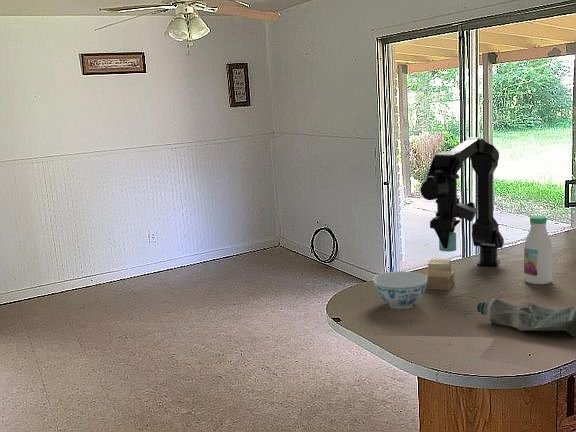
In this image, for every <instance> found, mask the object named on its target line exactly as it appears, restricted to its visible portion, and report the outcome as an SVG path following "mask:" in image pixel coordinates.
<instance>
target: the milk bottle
mask: <svg viewBox="0 0 576 432" xmlns="http://www.w3.org/2000/svg"><path fill="white" fill-rule="evenodd" d="M547 219H548V218H547V217H546V216H544V215H533V216H532V215H531V216H530V217H529V224H530V229H529V232H528V234H527V235H526V237H525V240H524V249H523V251H524V252H523V255H524V256H523V257H524V259H523V280H524V282H526V283H528V284H532V285H547V284H550V283H552V272H553V267H552V263H553V260H552V259H553V251H552V250H553V249H552V247H553V246H552V245H553V244H552V240H551V237H550V235H549V233H548V230H547Z"/></svg>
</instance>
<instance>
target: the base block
mask: <svg viewBox="0 0 576 432" xmlns="http://www.w3.org/2000/svg"><path fill="white" fill-rule="evenodd" d="M424 276H426V277H427V279H428V280H427V285H426V288H428V290H436V289H438V290H437V291H439V290H440V291H450V290H451V288H452V287H453V286H454V285H455V271H452V270H451V273H450V275H449V277H433V276H428V272H427V273H425V275H424Z"/></svg>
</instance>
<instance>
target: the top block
mask: <svg viewBox="0 0 576 432" xmlns="http://www.w3.org/2000/svg"><path fill="white" fill-rule="evenodd" d="M427 270H428V271H427V273H428V276H433V277H449V275H450V273H451V271H452V259H451V258H434V257H433V258H430V260H429V261H428V263H427Z"/></svg>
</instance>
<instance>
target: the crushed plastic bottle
mask: <svg viewBox="0 0 576 432" xmlns="http://www.w3.org/2000/svg"><path fill="white" fill-rule="evenodd" d="M476 311H477V313H480V314H481V315H487V319H488V321H489V322H490V323H491V324H494V325H495V324H496V325H500V326H506V327H512V328H515V329H518V331H520V332H524V331H545V332H547V331H548V332H549V331H551V332H552V331H553V332H556V331H557V332H558V331H561V332H562V331H563V332H564V331H566V332H567V333H569V334H570V335H571V336H573V337H576V304H575V305H574V304H573V305H570V306H568V307H567V308H557V309H555V308H547V307H543V306H539V305H536V304H533V303H530V302H527V301H526V302H523V303H520V305H513V304H512V303H511V304H510V303H508V302H505V301H502V300H500V299H498V298H496V297H494V298H492V299H491V301H490V302H489V303H488V302H485V301H483V302H478V304H477V307H476Z"/></svg>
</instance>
